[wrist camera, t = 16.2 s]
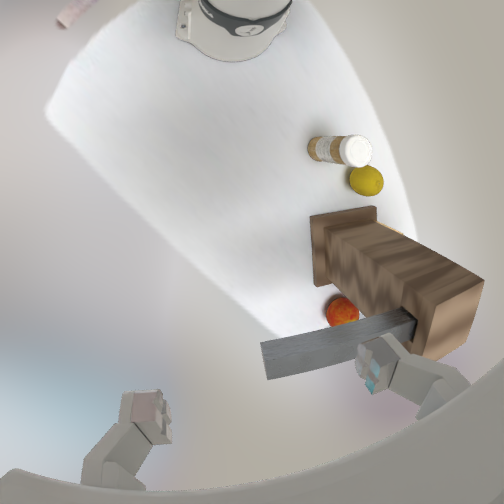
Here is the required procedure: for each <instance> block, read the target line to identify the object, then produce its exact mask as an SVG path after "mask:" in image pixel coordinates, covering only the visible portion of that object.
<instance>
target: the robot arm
mask: <svg viewBox="0 0 504 504" xmlns="http://www.w3.org/2000/svg"><path fill="white" fill-rule="evenodd" d="M291 3H292V0H181V1H180V7H179V13H178V19H177V26H176V33H175V35H176V37H177V38H178V39H180V40H183V41H186V42H189V43H191V44H193V45H194V46H195V47H196V48H197V49H199V50H200V51H201V52H202V53H204V54H205V55H207V56H209V57H211V58H214V59H217V60H221V61H227V62H238V61H245V60H249V59H252V58H254V57H256V56H258V55H260V54H261V53H262V52H264V51H265V50H266V49H267V48H268V46H269V45H270V43H271V42H272V40H273V38H274V37H275V36H277V35H278V34H280V33H282V32H283V31H284V30H285V29H286V27H287V24H286V22H285V19H286V18H287V16H288V14H289V12H290V9H289V7H290V5H291ZM182 26H186V27H185V28H181V27H182ZM357 351H358V352H359V354H358V355H357V357H356V359H355V366H356V370H357V373H358V374H359V376H360V377H361V378H363V379H366V382H365V385H366V387H367V388H368V390H369V391H370V392H371V394H372V395H373V394H376V393H378V392H381V391H383V390H386V389H388V388H389V390H391V391H393V392H395V393H397V394H398V395H401V396H402V397H404V398H406V399H408V400H410V401H412V402H414V403H416V404H418V405H420V406H421V407H420V409H419V410H418V412H417V414H416V419H417V420H418V421H417V422H415V423H413V424H412V425H410V426H408V427H406V428H404V429H403V430H401V431H399V432H397V433H395V434H393V435H391V436H389V437H387V438H385V439H383V440H381V441H379V442H376V443H374V444H372V445H370V446H368V447H365V448H363V449H361V450H359V451H356V452H354V453H351V454H349V455H346V456H343V457H341V458H338V459H336V460H333V461H330V462H327V463H324V464H321V465H318V466H315V467H312V468H308V469H305V470H302V471H299V472H295V473H291V474H287V475H284V476H279V477H275V478H271V479H266V480H262V481H257V482H251V483H247V484H240V485H234V486H226V487H219V488H210V489H199V490H184V491H146V486H145V485H144V484H143V483H142V482H140V481H139V480H138V479H136V478H135V475H136V473H137V472H138V470H139V468H140V467H141V465H142V464H143V462H144V460H145V458H146V457H147V455H148V454H149V452H150V450H151V449H152V447H153V446H152V445H161V444H172V430H171V429H170V427H169V424H170V423H171V421H172V419H171V411H170V407H169V404H168V403H167V401H166V400H164V399H163V394H162V392H161V390H160V389H154V390H138V391H125V392H124V393H123V394H122V400H121V406H120V412H119V420H118V423H115V424H114V425H113V426H112V427H111V428H110V429H109V431H108V432H107V433H106V434H105V435H104V436H103V437H102V438H101V440H100V441H99V442H98V443H97V444H96V445H95V446H94V448H93V449H92V450H91V451H90V452H89V453H88V454H87V456H86V457H85V458H84V461H83V468H82V475H81V484H76V483H70V482H65V481H61V480H56V479H52V478H48V477H44V476H41V475H37V474H33V473H30V472H27V471H24V470H21V469H12V470H10V471H9V472H7V473H6V474H5V475H4V476H3V477H2V478H1V479H0V504H504V358H503V359H502V360H501V361H500V362H499V363H498V364H497V365H495V366H494V367H493V368H492V369H491V370H490V371H488V372H487V373H486V374H485V375H484V376H482V377H481V378H480V379H479V380H478V381H476V382H475V383H474V384H472V385H471V384H470V383H469V381H468V380H467V379H466V378H465V377H464V376H463V375H462V374H461V373H460V372H459V371H458V370H457V368H455V367H451V366H449V365H446V364H443V363H440V362H437V361H434V360H431V359H428V358H425V357H422V356H419V355H416V354H410V353H409V352H408V351H407V350H406V349H405V348H404V347H403V346H402V344H401V343H400V342H399V341H398V340H397V339H396V338H395V337H394V336H393V335H392V334H391V333H387V334H384V335H381V336H379V337H376V338H373V339H371V340H368V341H365V342H363V343H360V344H359V345H358V348H357Z"/></svg>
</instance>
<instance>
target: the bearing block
mask: <svg viewBox="0 0 504 504" xmlns="http://www.w3.org/2000/svg"><path fill="white" fill-rule="evenodd" d="M373 220H376V221H377V207H375V206H367V207H361V208H355V209H349V210H343V211H338V212H332V213H327V214H321V215H315V216H310V227H311V241H312V257H313V276H314V285H315V286H316V287H320V286H324V285H328V284H331V283H333V284H334V285H335V286H336V287H337V288H338V289H339V290H340V291H341V292H342V293H343V294H344V295H345V296H346V297H347V298H348V299H349V300H350V301H351V302H352V303H353V304H354V305H355V306H356V308H357V309H358V310H359V311H360V312H361V313H362V314H363V315H364V316H365V317H366V318H367V317H371V316H374V315H377V314H381V313H384V312H387V311H391V310H394V309H397V308H400V307H404V308H405V309H406V310H407V311H408V312H410V313H411V314H412V315H413V316H414V317H415V318H417V319H418V324H417V328H416V332H415V336H414V338H413V339H411V340H408V341H405V342H403V343H401V344H402V346H403V347H404V348H405V349H406V350H407V351H408V352H409V353H410V354H416V355H419V356H422V357H425V358H428V359H431V360H434V361H437V360H439V359H440V358H442V357H444V356H445V355H447V354H448V353H450V352H452V351H453V350H455V349H456V348H458V347H459V346H461V345H462V344H464V343H465V342H466V340H467V337H468V334H469V331H470V329H471V325H472V323H473V320H474V317H475V314H476V310H477V307H478V304H479V300H480V297H481V292H482V289H483V285H484V280H483V279H482V278H480V277H479V276H477V275H475V274H474V273H472V272H470V271H469V270H467V269H465V268H463V267H462V266H460V265H458V264H456V263H454V262H453V261H451V260H449V259H447V258H446V257H444V256H442V255H440V254H438V253H437V252H435V251H433V250H431V249H429V248H427V247H425V246H423V245H422V244H420V243H418V242H416V241H414V240H412V239H410V238H408V237H406V236H404V235H402V234H400V233H398V232H396V231H394V230H392V229H390V228H388V227H386V226H384V225H381V224H379V223H377V222H375V221H373Z"/></svg>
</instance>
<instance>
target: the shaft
mask: <svg viewBox="0 0 504 504" xmlns="http://www.w3.org/2000/svg"><path fill="white" fill-rule="evenodd" d="M417 324H418V319H417V318H415V317H414V316H413V315H412V314H411V313H410V312H408V311H407V310H406V309H405V308H404V307H400V308H397V309H394V310H391V311H387V312H384V313H381V314H377V315H374V316H371V317H367V318H364V319H360V320H356V321H353V322H349V323H345V324H341V325H337V326H333V327H329V328H325V329H321V330H317V331H313V332H308V333H304V334H299V335H295V336H290V337H285V338H280V339H276V340H270V341H265V342H261V343H260V344H261V350H262V356H263V362H264V367H265V371H266V375H267V380H270V379H276V378H281V377H285V376H289V375H295V374H299V373H303V372H308V371H311V370H315V369H319V368H323V367H327V366H331V365H335V364H338V363H342V362H345V361H349V360H352V359H355V358H356V357H357V355H358V354H359V352H358V351H357V348H358V345H359V344H360V343H363V342H365V341H368V340H371V339H373V338H376V337H379V336H381V335H384V334H387V333H391V334H392V335H393V336H394V337H395V338H396V339H397V340H398V341H399V342H400V343H403V342H405V341H408V340H411V339H413V338H414V336H415V332H416V328H417Z"/></svg>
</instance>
